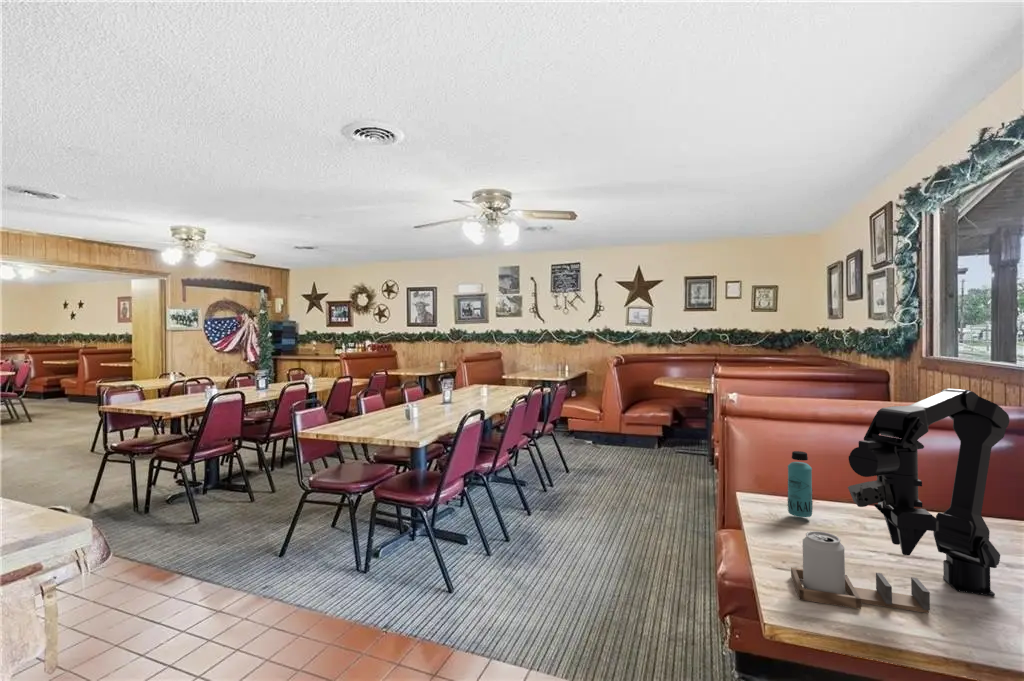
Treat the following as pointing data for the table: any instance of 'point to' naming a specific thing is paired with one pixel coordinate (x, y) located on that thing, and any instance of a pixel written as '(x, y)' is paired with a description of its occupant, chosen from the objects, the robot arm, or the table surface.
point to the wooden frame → (867, 594)
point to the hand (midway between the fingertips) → (900, 549)
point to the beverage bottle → (799, 486)
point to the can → (823, 563)
